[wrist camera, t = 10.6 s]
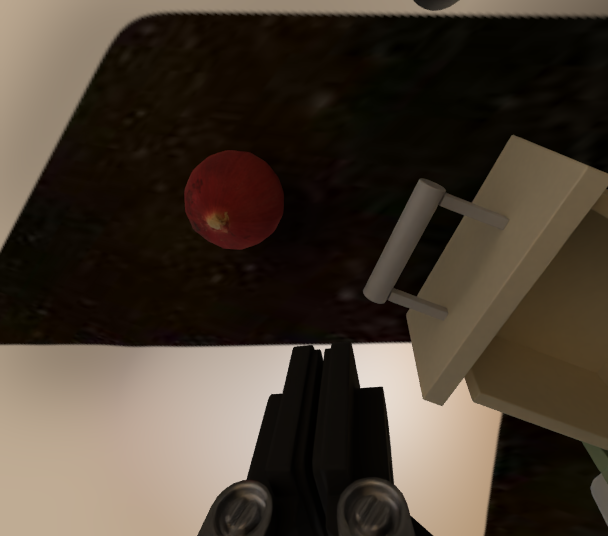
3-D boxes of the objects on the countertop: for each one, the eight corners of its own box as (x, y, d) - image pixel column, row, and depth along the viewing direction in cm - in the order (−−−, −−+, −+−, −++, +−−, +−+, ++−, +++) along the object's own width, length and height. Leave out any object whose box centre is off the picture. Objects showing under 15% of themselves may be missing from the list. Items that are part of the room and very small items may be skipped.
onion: (228, 233, 29) (186, 286, 22) (195, 156, 26) (135, 188, 19) (303, 212, 27) (283, 262, 20) (274, 129, 25) (241, 152, 18)
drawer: (344, 291, 29) (339, 369, 21) (433, 103, 22) (472, 119, 15) (583, 380, 29) (659, 484, 22) (734, 223, 23) (912, 295, 16)
